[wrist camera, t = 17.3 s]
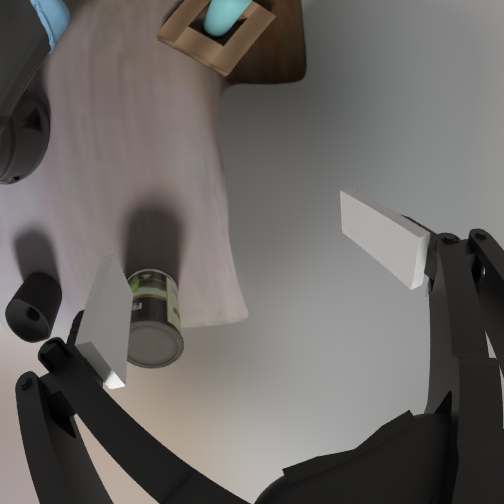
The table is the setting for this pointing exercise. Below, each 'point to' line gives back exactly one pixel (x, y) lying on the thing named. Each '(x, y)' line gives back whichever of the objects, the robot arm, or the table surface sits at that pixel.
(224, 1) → the teal pin
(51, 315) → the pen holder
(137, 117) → the table surface
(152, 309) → the coffee can
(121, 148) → the table surface
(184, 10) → the walnut hole block
